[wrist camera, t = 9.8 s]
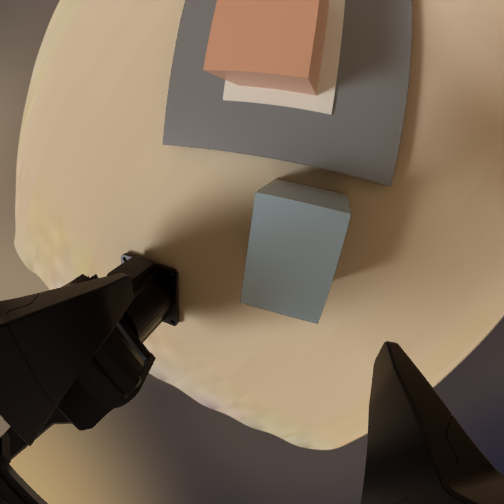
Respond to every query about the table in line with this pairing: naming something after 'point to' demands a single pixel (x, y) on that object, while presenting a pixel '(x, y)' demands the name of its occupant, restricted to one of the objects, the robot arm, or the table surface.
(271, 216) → the brick
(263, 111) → the baseplate
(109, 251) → the table surface
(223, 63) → the brick
